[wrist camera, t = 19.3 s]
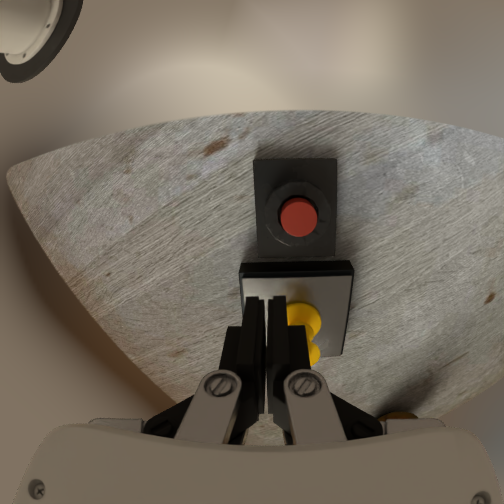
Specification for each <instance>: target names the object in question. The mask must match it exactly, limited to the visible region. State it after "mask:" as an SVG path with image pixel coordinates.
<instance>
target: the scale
mask: <svg viewBox="0 0 504 504" xmlns="http://www.w3.org/2000/svg"><path fill="white" fill-rule="evenodd" d="M353 279H354V268H353V266H352V264H351V262H350V260H338V261H299V262H253V263H241V266H240V269H239V283H240V294H241V305H242V316H243V313H244V307H245V300H246V296H259V299H264V304H265V324H266V345H267V320H268V299H273V296H280V295H286V304H287V305H289V304H294V303H304V304H308V305H310V306H312V307H314V308H315V309H316V310H317V311H318V312H319V314H320V317H321V328H320V330H319V331H318V333H317V334H316V335H315V336H314V337H313V340H312V341H311V342H313V343H315V344H316V345H317V346H318V348H319V349H320V357H332V356H340V355H342V352H343V347H344V341H345V336H346V329H347V323H348V317H349V310H350V303H351V295H352V288H353Z"/></svg>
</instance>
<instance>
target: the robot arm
mask: <svg viewBox="0 0 504 504" xmlns="http://www.w3.org/2000/svg"><path fill="white" fill-rule="evenodd" d="M62 7H63V0H0V53H4V54H5V58H6V60H7V61H8V62H9V63H11V64H22V63H25V62H26V61H28V60H30V59H31V58H32V57H33V56H35V54H36V53H37V52H38V51H39V50H40V49H41V48H42V47H43V46H44V44H45V43H46V42H47V40H48V39H49V37H50V36H51V34H52V32H53V31H54V29H55V27H56V25H57V23H58V20H59V18H60V15H61V11H62ZM266 376H267V396H268V414H273V422H274V423H275V424H277V425H278V426H279V427H281V428H282V429H283V432H282V433H283V438H284V443H285V446H250V445H245V442H246V439H247V435H248V429H249V427H250V426H252V425H253V424H254V423H256V422H257V421H258V420H259V414H264V405H265V382H266ZM12 504H504V502H503V498H502V494H501V490H500V487H499V483H498V479H497V477H496V474H495V471H494V468H493V466H492V463H491V461H490V458H489V456H488V454H487V452H486V450H485V448H484V447H483V445H482V443H481V442H480V440H479V439H478V438H477V437H476V436H475V435H474V434H473V433H472V432H470V431H468V430H465V429H461V428H454V427H446V426H445V424H444V423H443V422H442V421H440V420H438V419H435V418H422V419H387V420H386V421H379V420H377V419H376V418H375V417H373V416H371V415H369V414H367V413H366V412H364V411H362V410H360V409H359V408H357V407H355V406H353V405H351V404H350V403H348V402H346V401H345V400H343V399H341V398H339V397H338V396H336V395H334V394H333V393H331V392H330V391H329V388H328V386H327V383H326V380H325V379H324V377H323V376H322V375H321V374H320V373H319V372H316V371H314V370H311V366H310V358H309V350H308V343H307V335H306V328H305V325H288V319H287V304H286V295H280V296H273V299H268V320H267V345H266V324H265V304H264V299H259V296H246V300H245V307H244V313H243V320H242V326H228V328H227V332H226V337H225V341H224V346H223V351H222V356H221V360H220V365H219V370H216V371H212V372H210V373H208V374H207V375H205V376H204V377H203V379H202V380H201V382H200V384H199V386H198V388H197V390H196V392H195V394H194V395H193V396H191V397H189V398H187V399H185V400H184V401H182V402H180V403H178V404H176V405H175V406H173V407H171V408H169V409H167V410H166V411H163V412H161V413H160V414H158V415H156V416H154V417H152V418H151V419H149V420H148V421H143V420H142V419H115V418H96V419H93V420H92V421H90V422H89V423H88V424H68V425H63V426H59V427H57V428H55V429H53V430H52V431H51V432H50V433H49V434H48V435H47V436H46V437H45V438H44V440H43V441H42V443H41V444H40V445H39V447H38V449H37V451H36V452H35V454H34V456H33V458H32V460H31V462H30V464H29V465H28V467H27V469H26V472H25V474H24V476H23V478H22V481H21V483H20V486H19V488H18V491H17V493H16V496H15V498H14V501H13V503H12Z"/></svg>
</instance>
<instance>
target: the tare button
mask: <svg viewBox="0 0 504 504" xmlns="http://www.w3.org/2000/svg"><path fill="white" fill-rule="evenodd" d="M281 224H282V226H283V228H284V230H285V231H286V232H287V233H289V234H290V235H293V236H297V237H301V236H305V235H308V234H309V233H311V232H312V231H313V230H314V228H315V226H316V224H317V214H316V211H315V209H314V207H313V205H312V204H311V203H310V202H309V201H308V200H306V199H304V198H299V197H297V198H292V199H290V200H288V201H287V202H286V203H285V204H284V205H283V207H282V209H281Z"/></svg>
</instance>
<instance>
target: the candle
mask: <svg viewBox="0 0 504 504" xmlns="http://www.w3.org/2000/svg"><path fill="white" fill-rule="evenodd" d="M287 319H288V325H305V328H306V335H307V343H308V350H309V358H310V366H312V365H314V364H315V363H316V362H317V361H318V359H319V357H320V349H319V348H318V346H317V345H316V344H315V343H313V342H311V341H312V340H313V337H314V336H315V335H316V334H317V333H318V331H319V330H320V328H321V317H320V314H319V312H318V311H317V310H316V309H315V308H314V307H312V306H310V305H308V304H304V303H294V304H289V305H287Z"/></svg>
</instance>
